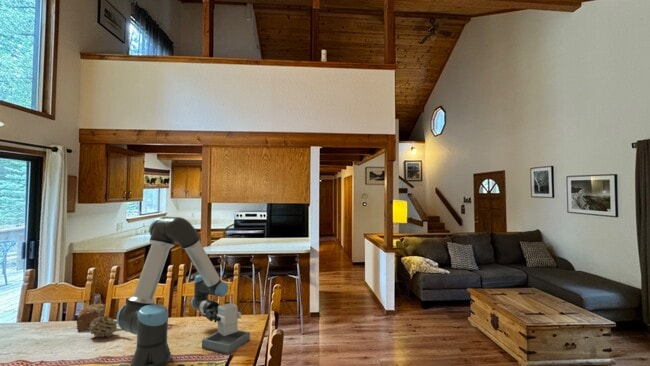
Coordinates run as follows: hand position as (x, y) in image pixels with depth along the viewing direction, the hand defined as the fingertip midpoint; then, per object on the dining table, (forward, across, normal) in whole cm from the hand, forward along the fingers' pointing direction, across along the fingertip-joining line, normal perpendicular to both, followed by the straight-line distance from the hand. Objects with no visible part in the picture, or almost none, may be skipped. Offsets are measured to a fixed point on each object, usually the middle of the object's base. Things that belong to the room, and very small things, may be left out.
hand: (232, 318), depth 151 cm
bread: (-86, +39, -14) cm, 96 cm away
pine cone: (-58, +37, -14) cm, 70 cm away
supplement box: (-5, 0, -8) cm, 9 cm away
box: (-5, 0, -14) cm, 14 cm away
